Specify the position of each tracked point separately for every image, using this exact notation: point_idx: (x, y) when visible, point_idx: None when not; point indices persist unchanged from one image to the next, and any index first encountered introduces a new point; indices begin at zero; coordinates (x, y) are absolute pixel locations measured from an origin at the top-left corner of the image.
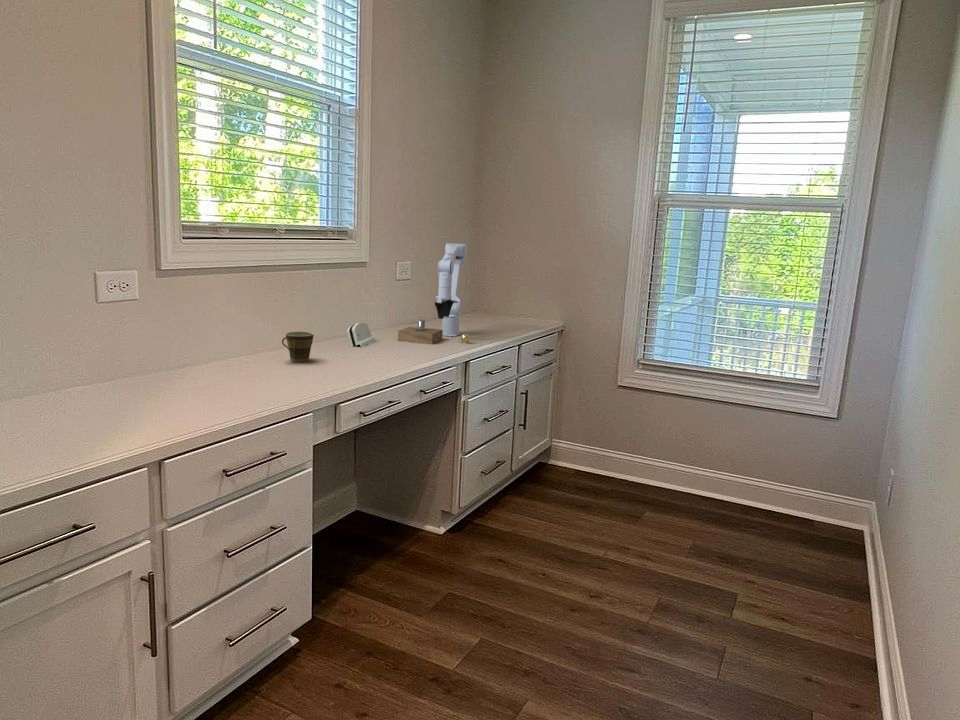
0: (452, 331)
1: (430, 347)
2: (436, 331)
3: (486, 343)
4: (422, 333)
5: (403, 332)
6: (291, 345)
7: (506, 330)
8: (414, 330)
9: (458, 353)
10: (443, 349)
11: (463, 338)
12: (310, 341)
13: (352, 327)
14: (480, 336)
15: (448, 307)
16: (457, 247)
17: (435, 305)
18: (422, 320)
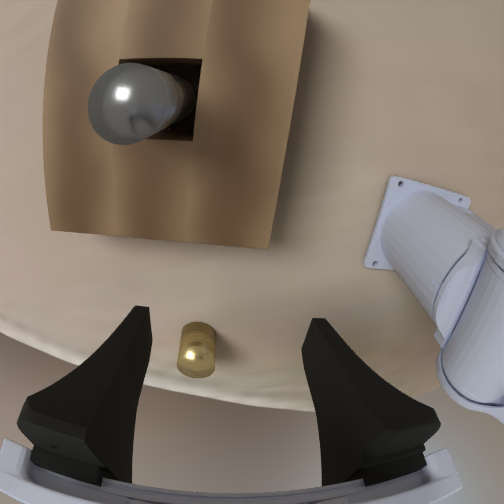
0: (392, 263)
1: (18, 222)
2: (161, 227)
3: (242, 388)
4: (44, 161)
5: (58, 19)
6: None
7: None
8: (123, 58)
9: (12, 330)
10: (22, 279)
11: (179, 349)
12: None
13: None
14: (396, 343)
15: (326, 421)
16: None
17: (38, 394)
18: (123, 118)
